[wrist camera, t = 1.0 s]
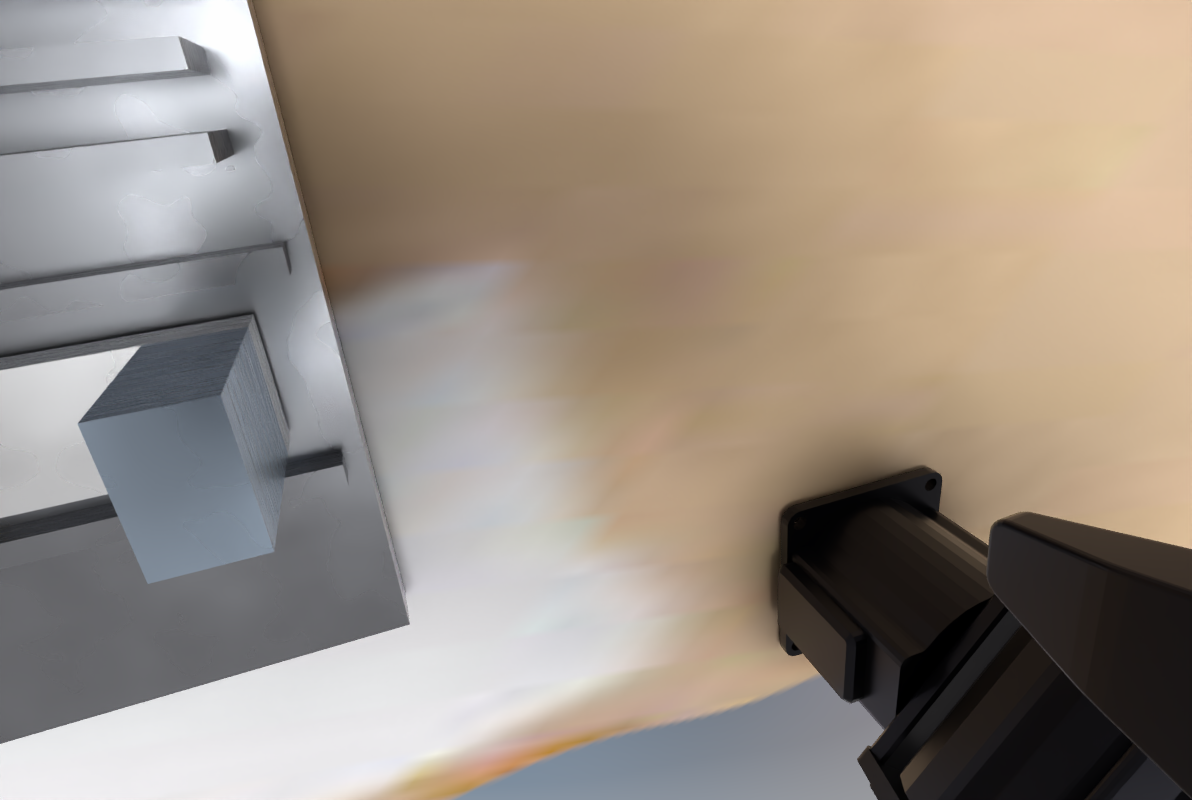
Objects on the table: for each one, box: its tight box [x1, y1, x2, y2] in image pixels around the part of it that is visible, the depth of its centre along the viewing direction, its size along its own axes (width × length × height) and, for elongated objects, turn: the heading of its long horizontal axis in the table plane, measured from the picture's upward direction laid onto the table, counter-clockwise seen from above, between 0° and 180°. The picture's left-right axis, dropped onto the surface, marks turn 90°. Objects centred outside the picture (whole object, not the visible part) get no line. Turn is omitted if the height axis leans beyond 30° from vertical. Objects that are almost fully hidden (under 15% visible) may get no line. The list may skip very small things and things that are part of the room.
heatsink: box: [0, 0, 410, 744], centre depth 14 cm, size 12×18×5 cm, turn 6°
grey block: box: [0, 314, 290, 584], centre depth 13 cm, size 7×3×5 cm, turn 96°
